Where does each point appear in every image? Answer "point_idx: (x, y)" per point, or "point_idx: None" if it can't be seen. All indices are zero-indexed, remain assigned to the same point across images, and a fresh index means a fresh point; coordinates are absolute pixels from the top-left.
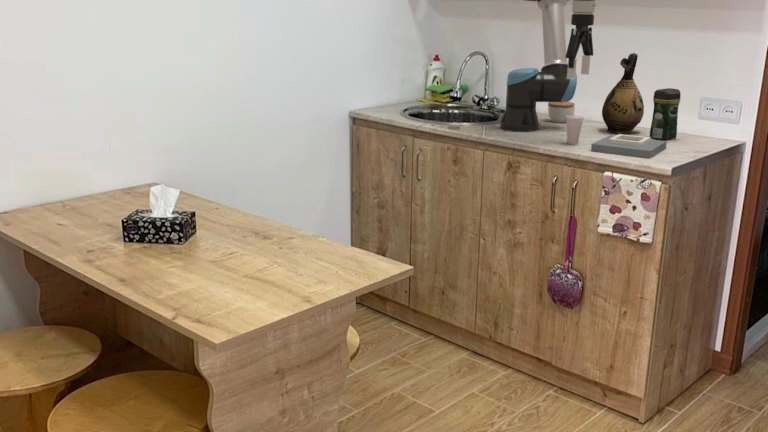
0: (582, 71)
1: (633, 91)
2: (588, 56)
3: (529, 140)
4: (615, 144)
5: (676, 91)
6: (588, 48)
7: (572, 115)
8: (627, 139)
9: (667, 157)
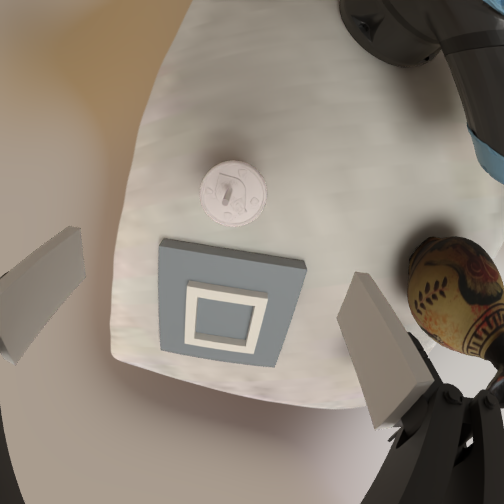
0: (357, 292)
1: (456, 348)
2: (380, 419)
3: (225, 60)
4: (183, 294)
5: (396, 426)
6: (363, 500)
7: (227, 188)
8: (252, 311)
9: (191, 361)
